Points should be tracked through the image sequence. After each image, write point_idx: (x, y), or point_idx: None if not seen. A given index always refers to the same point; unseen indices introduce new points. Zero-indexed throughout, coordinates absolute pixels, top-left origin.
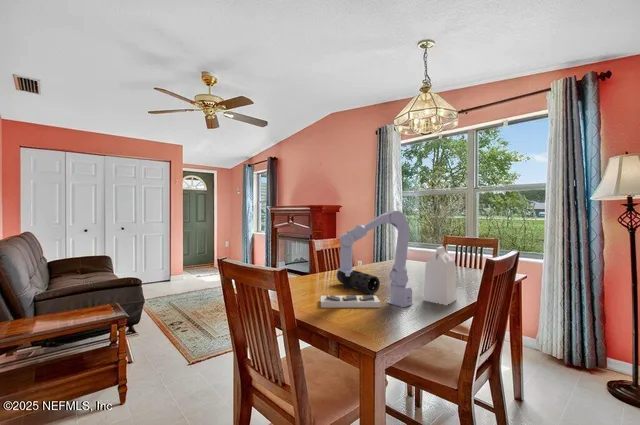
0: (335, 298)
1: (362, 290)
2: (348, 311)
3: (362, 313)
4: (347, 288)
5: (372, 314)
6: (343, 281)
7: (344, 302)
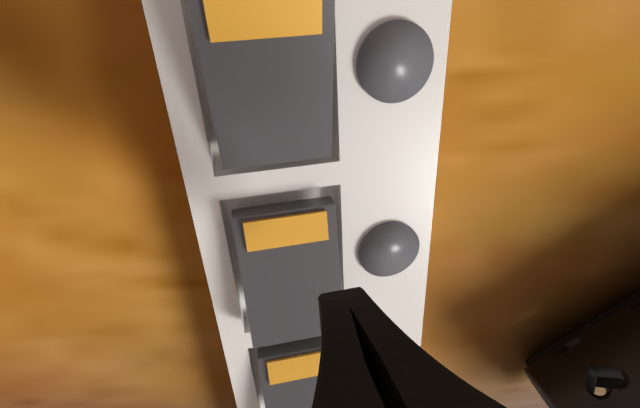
0: (240, 121)
1: (628, 305)
2: (84, 235)
3: (69, 340)
4: (321, 331)
5: (72, 399)
6: (315, 390)
7: (194, 218)
